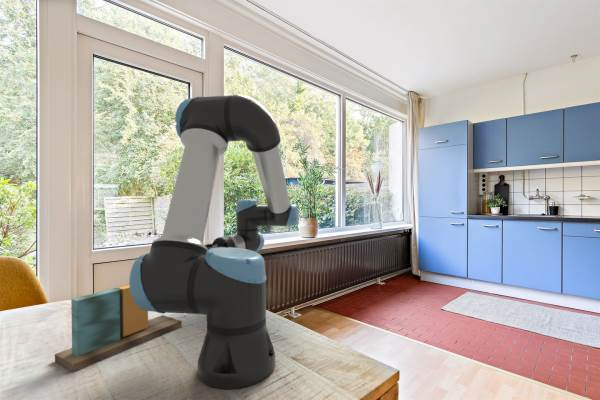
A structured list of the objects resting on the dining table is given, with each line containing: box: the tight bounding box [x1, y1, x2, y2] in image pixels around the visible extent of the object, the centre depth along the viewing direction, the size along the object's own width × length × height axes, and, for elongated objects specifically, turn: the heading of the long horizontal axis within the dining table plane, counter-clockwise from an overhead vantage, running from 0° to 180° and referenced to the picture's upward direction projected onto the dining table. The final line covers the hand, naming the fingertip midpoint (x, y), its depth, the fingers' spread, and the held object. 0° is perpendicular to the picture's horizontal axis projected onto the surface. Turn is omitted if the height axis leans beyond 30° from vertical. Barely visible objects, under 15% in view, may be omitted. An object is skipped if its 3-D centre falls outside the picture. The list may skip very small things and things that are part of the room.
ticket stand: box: [54, 287, 182, 373], centre depth 73 cm, size 25×8×13 cm, turn 148°
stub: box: [117, 284, 149, 337], centre depth 74 cm, size 6×2×11 cm, turn 148°
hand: (171, 259), depth 84 cm, fingers open, 13 cm apart
